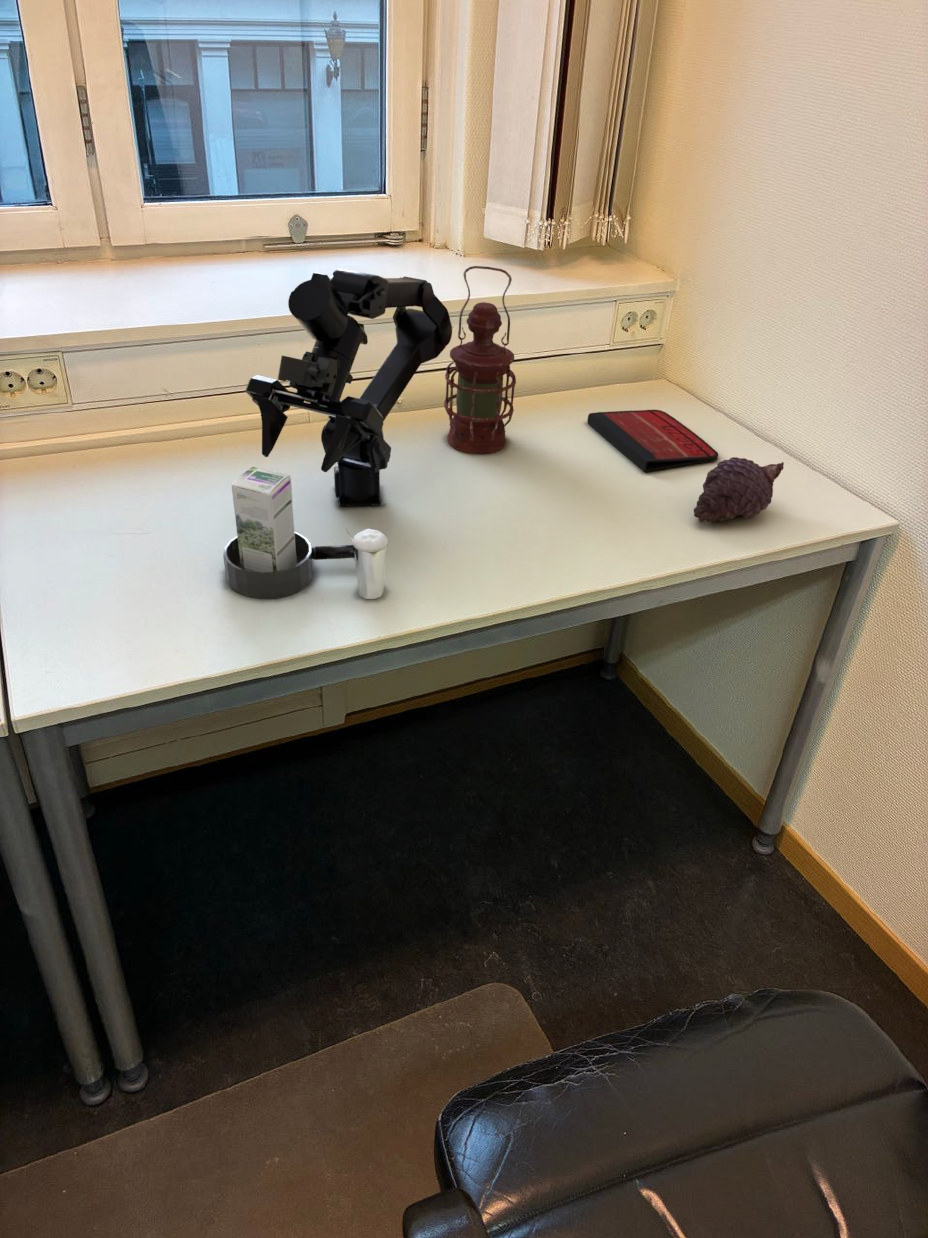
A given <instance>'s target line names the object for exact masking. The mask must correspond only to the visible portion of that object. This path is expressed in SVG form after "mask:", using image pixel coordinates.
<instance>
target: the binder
mask: <svg viewBox="0 0 928 1238" xmlns="http://www.w3.org/2000/svg"><path fill="white" fill-rule="evenodd" d="M586 422H587V424H588V425H589V426H590V427H591V428H593V429H594V430H595V431H596V432H597V433H598V434H599V435H600V436H602V438H604V439H605V440H606V441H607V442H608V443H610V444H611V445H612V446H613V447H614V448H616V449H617V450H618V451H619V452H621V453H622V455H624V456H625V457H626V458H628V459H629V460H630V461H631V462H632V463H633V464H635V465H636V466H637V467H638V468H640V469H641V470H642V471H643V472H644V473H650V472H651V473H652V472H655V471H659V470H665V469H671V468H676V467H682V466H687V465H694V464H699V463H704V462H705V463H706V462H711V461H716V460H718V459H719V453H718V451H717V450H715V449H714V448H713V447H712V446H711V445H710V444H709V443H708V442H707V441H705V440H704V439H703V438H701V437H700V436H699V435H697V434H696V432H694V431H693V430H692V429H690V428H688V427H687V426H686V425H684V424H683V423H682V422H681V421H679V420H678V419H676V418H675V417H674V416H672V415H670V414H669V413H667V412H666V411H663V410H660V409H644V410H643V409H642V410H641V409H640V410H617V411H598V412H590V413H588V414H587V421H586Z"/></svg>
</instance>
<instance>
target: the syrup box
mask: <svg viewBox="0 0 928 1238" xmlns="http://www.w3.org/2000/svg"><path fill="white" fill-rule="evenodd" d="M231 494H232V503H233V510H234V518H235V527H236V536H237V537H238V545H239V553H240V561H241V569H244V570H247V571H253V572H276V571H281V570H285V569H288V568H291V567H293V566H295V565H297V557H296V547H295V533H294V532H295V521H294V520H295V519H294V506H293V504H294V503H293V489H292V478H291V474H287V473H283V472H279V471H274V470H270V469H265V468H259V467H255V466H251V467H249V469H247V470H246V471H244V472H243V473H241V474H240V475H239V476H238V477H237V478H236V479H235V480H234V482H232V483H231Z"/></svg>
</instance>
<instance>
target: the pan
mask: <svg viewBox="0 0 928 1238" xmlns="http://www.w3.org/2000/svg"><path fill="white" fill-rule="evenodd" d="M294 533H295V547H296V557H297V565H295V566H293V567H291V568H288V569H285V570H281V571H276V572H253V571H247V570H244V569H241V561H240V553H239V545H238V537H237V535H236V536H234V537H233V538H231V539H229V540H228V542H227V543H226V544H225V546H224V548H223V556H222V557H223V565H224V573H225V579H226V583H227V585H229V587H230V589H232V591H234V592H236V593H237V594H239V595H241V596H244V597H247V598H250V599H257V600H258V599H259V600H274V599H275V600H276V599H281V598H285V597H289V596H292V595H294V594H296V593H298V592H300V591H302V590H303V589H305V588H306V587H307V586H309V584H310V582H312V579H313V576H314V566H313V564H314V563H313V559H312V547H313V546H312V544H311V542H310V540H309V539H308V538H307V537H306V536H304V535H303V534H301V533H300V532H297V531H294Z"/></svg>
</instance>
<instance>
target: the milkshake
mask: <svg viewBox="0 0 928 1238" xmlns="http://www.w3.org/2000/svg"><path fill="white" fill-rule="evenodd" d="M345 531H346V533H347V535H348V536H349V538H350V540H351V542H352V545H353V549H354V556H355V558H354V564H355V573H356V583H357V593H358V594H359V596H360V597H361V598H364V599H365V600H376V599H378V598H381V597H382V595H383V594H384V587H385V575H386V563H387V554H388V546H389V545H388V544H389V540H388V537H387V536H386V535H385V534H384V533H383V532H381V531H380V530H377V529H371V528H366V529H364V530H362V531H359V532H358V533H356V534H355V535H354V536H353V537H352V536H351V534H350V532H349V530H348V528H347V527H345Z"/></svg>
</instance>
